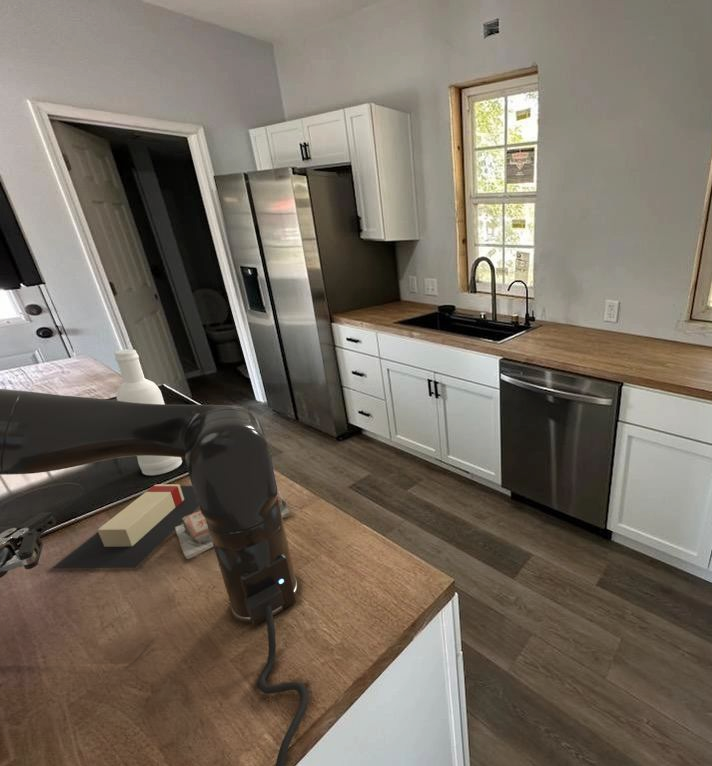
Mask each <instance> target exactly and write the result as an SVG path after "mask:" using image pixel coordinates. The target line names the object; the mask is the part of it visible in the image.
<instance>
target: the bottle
mask: <svg viewBox="0 0 712 766" xmlns="http://www.w3.org/2000/svg"><path fill="white" fill-rule="evenodd" d="M113 354H114V359H115V362H117V365H118V368H119V371H120V374H121V377H122V380H123V382H122V383H121V385H119V387H118V388H117V391H116V401H124V402H133V403H144V404H166V403H165V401H164V397H163V394H162V391H161V389H160V388H159V386H158V385H157V384H156V383H155V382H154V381H152V380H150V379H147V378H145V375H144V372H143V368H142V365H141V363H140V356H139V353H137V350H136V349H133V348H126V349H125V348H124V349H120V350H116V351H115V352H114V353H113ZM136 459H137V462H138V463H137V464H138V466H139V468H140V470H141V473H142V474H143V475H145V476H159V475H164V474H167V473H169V472H172V471H174V470H176V469H178V468H179V467H180V466H181V465H182V463H183V459H182V457H170V456H136Z"/></svg>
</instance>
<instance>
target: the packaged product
mask: <svg viewBox="0 0 712 766" xmlns="http://www.w3.org/2000/svg"><path fill="white" fill-rule="evenodd" d="M278 499H279V504H280V508H281V513H282V518H283V519H284V518H286V517H289V516H291V514H292V512H291V511H290V510H289V508H288V507H287V502H286V499H285V498H284V495H283V494H282V493H281V492H280V491H278ZM182 522H183V523H181V524H180V525H179V526H177V527H175V530H174V531H175V533H176V536H177V537H178V541H179V545H180V548H181V551H182V553H183V555H184V557H185V558H186V560H190V559H192V558H194V557H196V556H198V555H201V554H202V553H204V552H206V551H208V550H209V549H212V548H214V546H213V543H212V539H211V536H210V532H209V529H208V526H207V523H206V520H205V517H204V516H203V515H202V513H201V511H200V510H199V511H196V512H195V511H194V512H193V513H192V514H190V515H187V516H185V517H184V518H183V519H182Z"/></svg>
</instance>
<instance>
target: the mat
mask: <svg viewBox="0 0 712 766" xmlns="http://www.w3.org/2000/svg"><path fill="white" fill-rule="evenodd" d="M180 487H181V490H182V494H183V497H184V500H183V501H182V503H181V504H179V505H178V506H177V507H176V508H174V509H173V510H172V511H171V512H170V513H169V514H168V515H167V516H165V517H164V518H163V519H162V520H161V521H160V522H159V523H158V524H157V525H155V526H154V527H153V528H152V529H151V530H150V531H149V532H148V533H147V534H145V535H144V536H143V537H142V538H141V539H140V540H139V541H138V542H137V543H135V544H134V545H133V546H126V547H105V546H104V544H103V542H102V540H101V537H100V535H99V533H98V532H96V533H95V534H94V535H93V536H91V537H90V538H89V539H87V540H86V541H85V542H83V544H81V545H80V546H79V547H77V548H76V549H75V550H74V551H72V552H71V553H70V554H68V555H67V556H66V557H64V558H63V559H62V560H60V561H59V562H58V563H57V564H55V565H54V566H53V567H52V569H104V568H105V569H106V568H107V569H108V568H109V569H111V568H112V569H113V568H114V569H115V568H118V569H120V568H123V569H124V568H137V567H138V566H139V565H140V564H141V563H142V562H143V561H144V560H145V559H146V558H148V556H149V555H150V554H152V553H153V552H154V550H156V549H158V547H159V546H160V545H161V544H162V543H164V541H165V540H166V539H168V538H169V536H170V535H171V534H172V533H173V532H174V531H176V530H175V527H177V526H180V525H182V524H183V522H182V519H183V518H184V517H185V516H187V515H190V514H193V513H195V511H197V509H198V508H199V504H198V501H197V498H196V495H195V492H194V489H193V486H192V485H184V486H183V485H180Z"/></svg>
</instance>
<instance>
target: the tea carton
mask: <svg viewBox="0 0 712 766" xmlns="http://www.w3.org/2000/svg"><path fill="white" fill-rule="evenodd" d="M180 486H181V485H180V484H179V483H178V484H177V483H175V484H168V483H167V484H166V483H165V484H163V483H162V484H161V483H159V484H158V483H157V484H154V485H152V486H151V487H149V488H148V489H147V490H146V491H145V492H144V493H143V494H141V495H140V496H139V497H137V498H136V499H135V500H134V501H132V502H130V503H129V505H127V506H126V507H125V508H124V509H122V510H121V511H119V512H118V513H117V514H116V515H114V516H113V517H112V518H110V519H109V520H108V521H106V522H105V523H104V524H103V525H101V526H100V527H99V528H98V529H97V533H99V535H100V537H101V540H102V542H103V544H104V546H105V547H126V546H133V545H134V544H135V543H137V542H138V541H139V540H140V539H141V538H142V537H143V536H144V535H145V534H147V533H148V532H149V531H150V530H151V529H152V528H153V527H154V526H155V525H157V524H158V523H159V522H160V521H161V520H162V519H163V518H164V517H165V516H167V515H168V514H169V513H170V512H171V511H172V510H173V509H174V508H176V507H177V506H178V505H179V504H181V503H182V501H183V500H184V497H183V494H182V490H181V487H180Z"/></svg>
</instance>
